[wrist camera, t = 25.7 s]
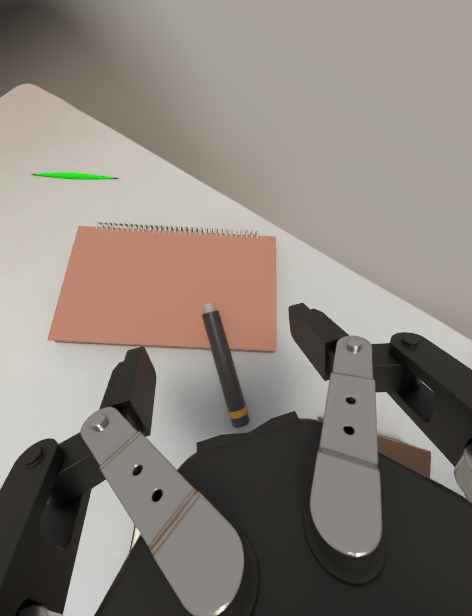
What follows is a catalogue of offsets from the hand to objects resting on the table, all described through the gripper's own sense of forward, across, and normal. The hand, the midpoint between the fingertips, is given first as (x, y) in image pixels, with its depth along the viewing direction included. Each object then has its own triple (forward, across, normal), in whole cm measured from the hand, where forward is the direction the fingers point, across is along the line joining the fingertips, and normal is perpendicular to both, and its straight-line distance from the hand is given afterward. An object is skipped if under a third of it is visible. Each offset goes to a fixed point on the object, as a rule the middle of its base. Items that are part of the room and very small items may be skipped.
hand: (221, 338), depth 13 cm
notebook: (+21, +4, +4) cm, 22 cm away
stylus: (+14, 0, +5) cm, 15 cm away
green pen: (+37, +15, -11) cm, 41 cm away
